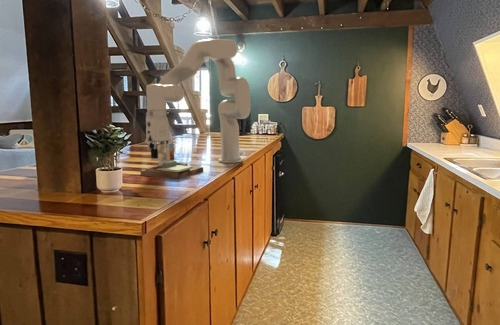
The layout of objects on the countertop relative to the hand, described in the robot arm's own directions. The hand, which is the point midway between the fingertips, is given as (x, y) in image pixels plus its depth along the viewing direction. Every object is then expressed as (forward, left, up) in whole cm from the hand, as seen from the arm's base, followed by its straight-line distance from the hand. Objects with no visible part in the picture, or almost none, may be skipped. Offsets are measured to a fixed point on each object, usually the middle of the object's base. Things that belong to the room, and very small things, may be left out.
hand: (158, 156), depth 153 cm
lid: (0, +10, -5) cm, 11 cm away
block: (0, 0, -1) cm, 1 cm away
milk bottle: (-20, -14, -8) cm, 25 cm away
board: (-5, +3, -8) cm, 10 cm away
